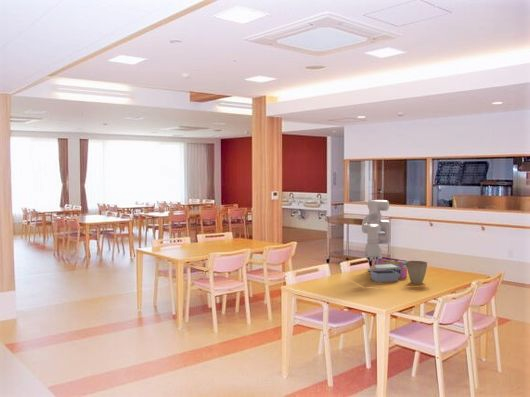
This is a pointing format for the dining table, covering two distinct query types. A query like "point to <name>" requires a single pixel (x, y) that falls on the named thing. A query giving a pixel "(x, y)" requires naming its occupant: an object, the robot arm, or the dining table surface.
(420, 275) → the plant pot
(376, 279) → the tub
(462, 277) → the dining table surface
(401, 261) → the gum box
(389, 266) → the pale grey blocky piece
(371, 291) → the dining table surface
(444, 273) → the dining table surface
